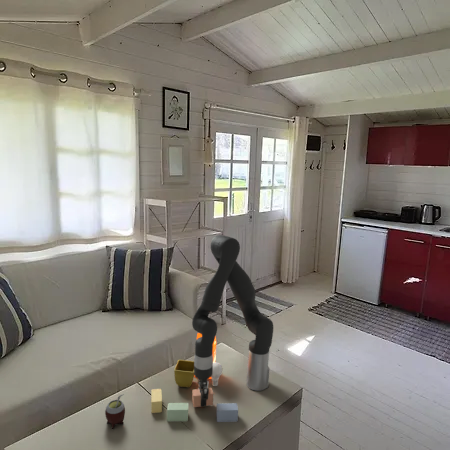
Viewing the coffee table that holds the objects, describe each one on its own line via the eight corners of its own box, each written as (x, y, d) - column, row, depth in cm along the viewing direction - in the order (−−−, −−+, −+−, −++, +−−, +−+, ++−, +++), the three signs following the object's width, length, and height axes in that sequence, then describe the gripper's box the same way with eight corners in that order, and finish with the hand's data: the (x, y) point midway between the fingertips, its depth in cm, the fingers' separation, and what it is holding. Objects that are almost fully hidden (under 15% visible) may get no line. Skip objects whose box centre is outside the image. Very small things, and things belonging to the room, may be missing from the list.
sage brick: (188, 414, 140) (188, 402, 139) (187, 421, 136) (188, 409, 135) (167, 414, 139) (167, 403, 138) (166, 421, 135) (167, 409, 134)
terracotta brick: (211, 398, 147) (211, 387, 146) (213, 404, 143) (213, 393, 142) (192, 400, 145) (192, 389, 144) (193, 407, 141) (193, 396, 141)
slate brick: (236, 414, 141) (236, 403, 140) (237, 421, 137) (238, 410, 136) (216, 414, 140) (216, 403, 139) (217, 422, 136) (217, 410, 135)
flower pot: (196, 379, 163) (197, 361, 161) (192, 391, 154) (193, 372, 153) (177, 377, 163) (178, 359, 162) (173, 388, 155) (173, 370, 153)
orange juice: (197, 367, 172) (198, 329, 169) (215, 369, 171) (217, 331, 168) (193, 376, 164) (195, 336, 161) (212, 379, 163) (214, 339, 160)
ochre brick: (151, 400, 147) (151, 389, 146) (161, 399, 148) (161, 388, 147) (151, 413, 139) (151, 402, 138) (161, 412, 140) (161, 401, 139)
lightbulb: (211, 391, 154) (212, 368, 153) (205, 383, 160) (206, 360, 158) (224, 387, 157) (225, 365, 156) (217, 380, 163) (219, 358, 161)
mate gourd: (109, 416, 136) (109, 380, 134) (129, 417, 136) (129, 382, 134) (102, 430, 129) (101, 393, 127) (123, 431, 129) (123, 394, 126)
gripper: (216, 373, 135) (214, 413, 138) (209, 353, 149) (208, 390, 152) (196, 374, 134) (195, 415, 137) (192, 355, 147) (191, 392, 150)
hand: (202, 401), depth 144 cm, fingers closed on terracotta brick, 4 cm apart
